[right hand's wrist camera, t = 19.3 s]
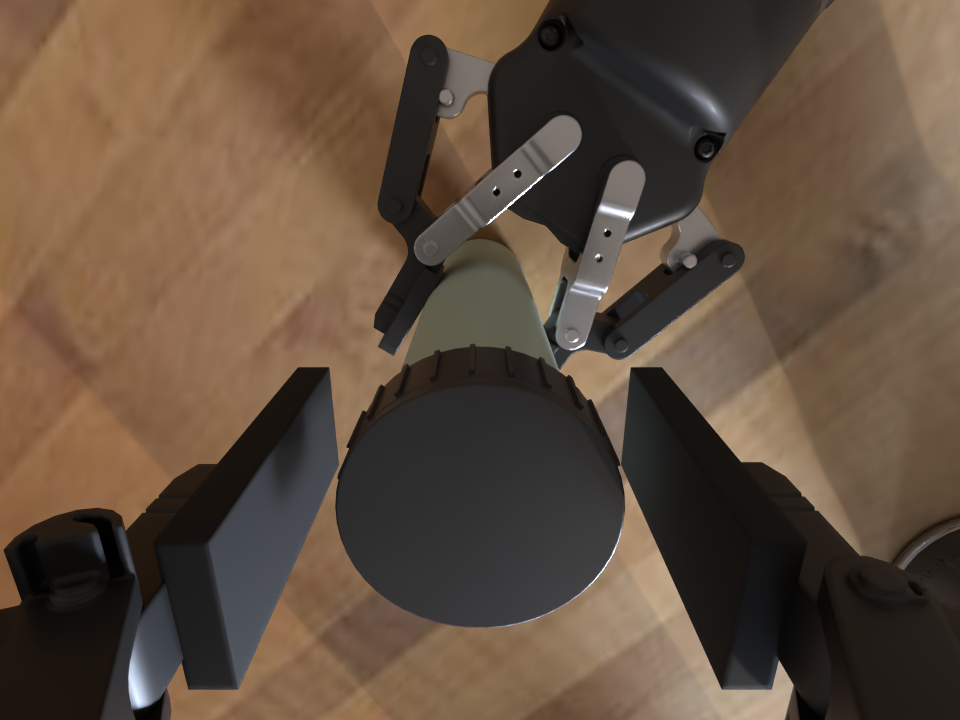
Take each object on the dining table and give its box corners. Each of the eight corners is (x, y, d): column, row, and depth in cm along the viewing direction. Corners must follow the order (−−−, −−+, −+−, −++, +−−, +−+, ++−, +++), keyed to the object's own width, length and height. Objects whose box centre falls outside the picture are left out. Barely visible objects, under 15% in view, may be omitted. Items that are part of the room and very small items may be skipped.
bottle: (509, 226, 27) (561, 357, 10) (535, 312, 29) (618, 552, 12) (422, 255, 28) (328, 427, 11) (452, 338, 29) (412, 606, 12)
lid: (550, 589, 13) (561, 659, 11) (327, 525, 13) (301, 589, 11) (648, 390, 12) (680, 436, 10) (394, 305, 11) (377, 337, 9)
